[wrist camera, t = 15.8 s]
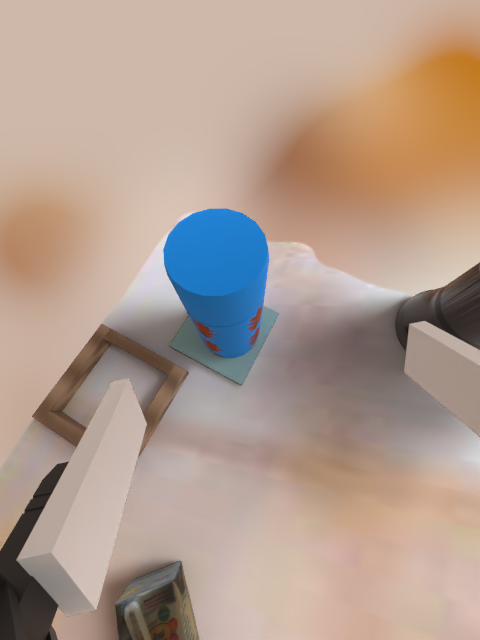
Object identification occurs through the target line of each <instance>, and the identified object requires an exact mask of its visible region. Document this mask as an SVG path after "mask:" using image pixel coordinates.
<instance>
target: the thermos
mask: <svg viewBox="0 0 480 640" xmlns="http://www.w3.org/2000/svg"><path fill="white" fill-rule="evenodd" d="M268 263H269V253H268V246H267V242H266V238H265V234H264V233H263V232H262V230H261V229H260V227H259V226H258V225H257V223H256V222H255V221H253V220H252V219H250V218H249V217H247V216H246V215H244V214H243V213H240V212H236V211H233V210H229V209H207V210H204V211H200V212H197V213H193V214H192V215H190V216H188V217H187V218H185V219H184V220H182V221H180V222H179V223H178V224H177V225H176V227H175V228H174V229H173V230H172V231H171V233H170V234H169V235H168V238H167V241H166V244H165V247H164V264H165V268H166V272H167V275H168V277H169V279H170V281H171V283H172V284H173V286H174V288H175V290H176V292H177V294H178V296H179V298H180V299H181V301H182V303H183V305H184V307H185V309H186V311H187V313H188V314H189V316H190V318H191V320H192V322H193V324H194V326H195V327H196V329H197V331H198V333H199V335H200V337H201V339H202V340H203V342H204V344H205V345H206V346H207V348H208V349H210V350H211V351H212V352H213V353H214V354H215V355H218V356H221V357H223V358H236V357H239V356H242V355H245V354H246V353H247V352H248V351H249V350H251V349H252V348H253V346H254V344H255V343H256V341H257V338H258V335H259V331H260V325H261V318H262V310H263V302H264V294H265V287H266V279H267V271H268Z"/></svg>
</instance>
